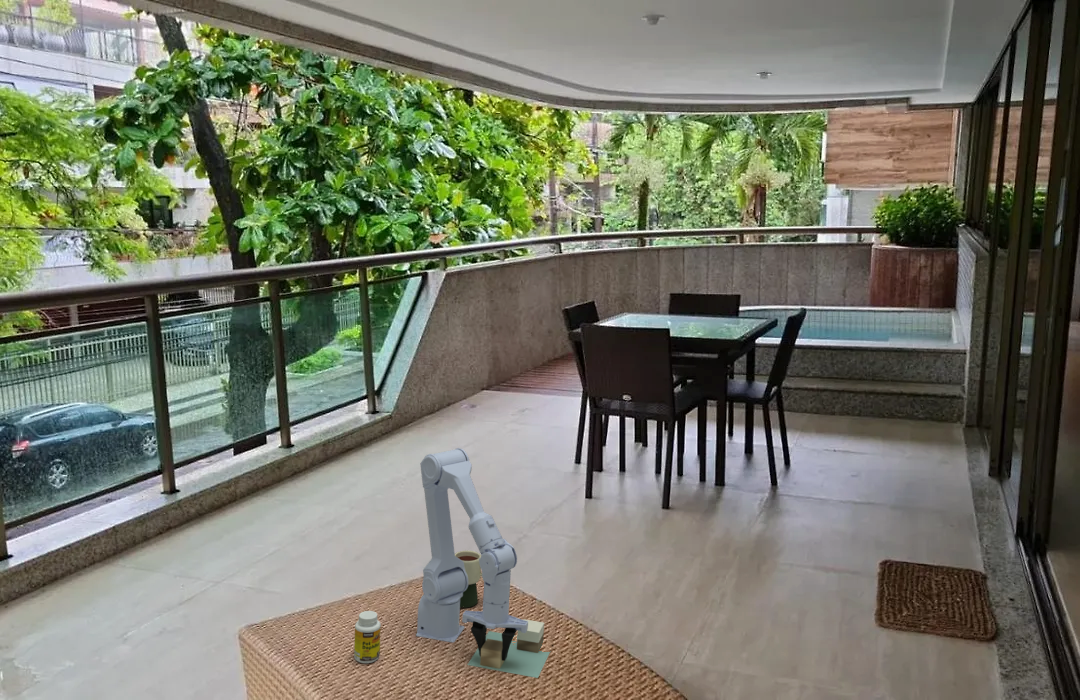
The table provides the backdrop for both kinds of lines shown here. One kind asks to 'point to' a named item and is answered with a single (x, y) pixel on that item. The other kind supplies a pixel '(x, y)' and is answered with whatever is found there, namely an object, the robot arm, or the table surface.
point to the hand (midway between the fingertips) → (493, 656)
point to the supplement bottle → (367, 637)
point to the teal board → (515, 659)
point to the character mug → (470, 576)
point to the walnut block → (529, 645)
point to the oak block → (492, 654)
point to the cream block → (532, 632)
